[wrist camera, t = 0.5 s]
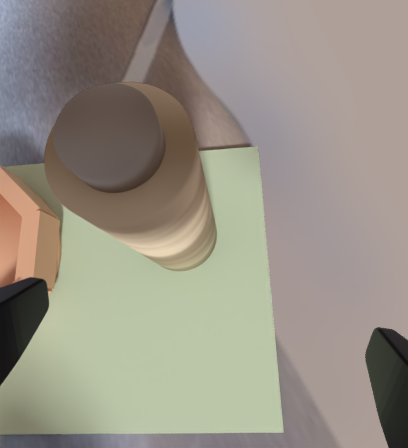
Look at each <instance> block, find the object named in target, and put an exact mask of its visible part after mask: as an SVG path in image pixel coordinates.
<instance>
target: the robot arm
mask: <svg viewBox="0 0 408 448" xmlns="http://www.w3.org/2000/svg"><path fill="white" fill-rule="evenodd" d="M48 309H49V296H48V288H47V282H46V280H44V279H42V278H35V277H29V278H26V279H23V280H20V281H17V282H15V283H12V284H9V285H6V286H3V287H0V386H1V385H2V383H3V382H4V380H5V379H6V378H7V376H8V375H9V374H10V372H11V371H12V369H13V368H14V367H15V365H16V364H17V362H18V361H19V359H20V358H21V356H22V354H23V353H24V351H25V350H26V348H27V346H28V344H29V343H30V341H31V339H32V337H33V336H34V334H35V332H36V331H37V329H38V327H39V325H40V324H41V322H42V320H43V318H44V317H45V315H46V313H47V311H48ZM365 355H366V356H365V358H366V364H367V369H368V373H369V377H370V382H371V386H372V390H373V395H374V399H375V403H376V408H377V412H378V416H379V420H380V423H381V426H382V429H383V432H384V435H385V438H386V441H387V444H388V447H389V448H408V340H407V339H405V338H404V337H403V336H401V335H400V334H398V333H397V332H396V331H394V330H392V329H386V328H380V327H378V328H376V329H374V331H373V333H372V336H371V338H370V341H369V345H368V347H367V350H366V354H365Z"/></svg>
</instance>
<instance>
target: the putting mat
mask: <svg viewBox="0 0 408 448" xmlns="http://www.w3.org/2000/svg"><path fill="white" fill-rule="evenodd" d="M199 154H200V158H201V163H202V167H203V172H204V176H205V180H206V185H207V189H208V193H209V198H210V202H211V206H212V211H213V215H214V220H215V224H216V228H217V240H216V245H215V248H214V250H213V252H212V254H211V255H210V256H209V258H208V259H207V260H206V261H205V262H204V263H202V264H201V265H200V266H198V267H196V268H194V269H191V270H188V271H172V270H168V269H166V268H163V267H162V266H160V265H158V264H157V263H155V262H153V261H152V260H150V259H148V258H147V257H145V256H144V255H142V254H140V253H139V252H137V251H135V250H134V249H132V248H130V247H129V246H127V245H125V244H124V243H122V242H120V241H119V240H117V239H116V238H114V237H112V236H111V235H109V234H107V233H106V232H104V231H102V230H101V229H99V228H97V227H96V226H94V225H92V224H91V223H89V222H88V221H86V220H84V219H83V218H81V217H79V216H78V215H76V214H74V213H73V212H71V211H70V210H68V209H67V208H66V207H65V206H64V205H62V204H61V203H60V201H59V200H58V199H57V198H56V197H55V195H54V193H53V192H52V190H51V188H50V186H49V184H48V181H47V178H46V174H45V167H44V163H40V164H27V165H14V166H2V167H3V168H5V169H7V170H8V171H10V172H11V173H13V174H15V175H16V176H18V177H20V178H21V179H22V180H23V182H24V183H25V184H26V185H27V186H28V187H29V188H30V189H31V190H32V191H33V192H34V193H36V194H37V195H38V196H40V197H41V198H42V199H43V200H44V201H45V202H46V204H47V205H48V206H49V207H50V209H51V210H52V211H53V212H54V213H55V214H56V215H57V216H58V217H59V219H58V220H60V227H59V230H60V234H61V242H62V256H61V263H60V268H59V272H58V275H57V279H56V281H55V286H54V289H52V291H53V292H52V293H51V294H50V295H49V309H48V311H47V313H46V315H45V317H44V318H43V320H42V322H41V324H40V325H39V327H38V329H37V331H36V332H35V334H34V336H33V337H32V339H31V341H30V343H29V344H28V346H27V348H26V350H25V351H24V353H23V354H22V356H21V358H20V359H19V361H18V362H17V364H16V365H15V367H14V368H13V369H12V371H11V372H10V374H9V375H8V376H7V378H6V379H5V380H4V382H3V383H2V385H1V386H0V435H4V434H145V433H284V432H283V421H282V410H281V399H280V387H279V376H278V365H277V354H276V342H275V331H274V320H273V309H272V297H271V288H270V287H271V286H270V275H269V264H268V254H267V241H266V230H265V219H264V208H263V196H262V185H261V174H260V163H259V151H258V147H244V148H232V149H219V150H206V151H199Z"/></svg>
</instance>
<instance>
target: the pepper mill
mask: <svg viewBox="0 0 408 448" xmlns="http://www.w3.org/2000/svg"><path fill="white" fill-rule="evenodd" d="M44 167H45V174H46V178H47V181H48V184H49V186H50V188H51V190H52V192H53V193H54V195H55V197H56V198H57V199H58V200H59V201H60V203H61V204H62V205H64V206H65V207H66V208H67V209H68V210H70V211H71V212H73V213H74V214H76V215H78V216H79V217H81V218H83V219H84V220H86V221H88V222H89V223H91V224H92V225H94V226H96V227H97V228H99V229H101V230H102V231H104V232H106V233H107V234H109V235H111V236H112V237H114V238H116V239H117V240H119V241H120V242H122V243H124V244H125V245H127V246H129V247H130V248H132V249H134V250H135V251H137V252H139V253H140V254H142V255H144V256H145V257H147V258H148V259H150V260H152V261H153V262H155V263H157V264H158V265H160V266H162V267H163V268H166V269H168V270H172V271H188V270H191V269H194V268H196V267H198V266H200V265H201V264H202V263H204V262H205V261H206V260H207V259H208V258H209V256H210V255H211V254H212V252H213V250H214V248H215V245H216V240H217V228H216V224H215V220H214V215H213V211H212V206H211V202H210V198H209V193H208V189H207V185H206V180H205V176H204V172H203V167H202V163H201V158H200V154H199V150H198V145H197V141H196V137H195V132H194V128H193V125H192V122H191V120H190V117H189V115H188V114H187V112H186V110H185V109H184V108H183V106H182V105H181V104H180V103H179V102H178V101H177V100H176V99H175V98H174V97H173V96H171V95H170V94H168V93H167V92H165V91H164V90H161V89H159V88H157V87H155V86H152V85H149V84H144V83H137V82H120V83H106V84H100V85H96V86H93V87H90V88H88V89H86V90H84V91H82V92H80V93H79V94H77V95H76V96H75V97H74V98H72V99H71V100H70V101H69V102H68V103H67V104H66V105H65V107H64V108H63V109H62V111H61V113H60V114H59V116H58V118H57V121H56V123H55V125H54V126H53V128H52V130H51V132H50V135H49V137H48V140H47V143H46V148H45V154H44Z"/></svg>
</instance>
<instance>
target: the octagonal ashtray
mask: <svg viewBox="0 0 408 448" xmlns="http://www.w3.org/2000/svg"><path fill="white" fill-rule="evenodd" d="M58 219H59V217H58V216H57V215H56V214H55V213H54V212H53V211H52V210H51V209H50V207H49V206H48V205H47V204H46V202H45V201H44V200H43V199H42V198H41V197H40V196H38V195H37V194H36V193H34V192H33V191H32V190H31V189H30V188H29V187H28V186H27V185H26V184H25V183H24V182H23V180H22V179H21V178H20V177H18V176H16V175H15V174H13V173H11V172H10V171H8V170H7V169H5V168H3V167H2V166H0V287H3V286H6V285H9V284H12V283H15V282H17V281H20V280H23V279H26V278H29V277H35V278H42V279H44V280H46V282H47V288H48V296H49V295H50V294H51V293H52V292H53V291H52V289H54V286H55V281H56V279H57V275H58V272H59V268H60V263H61V256H62V242H61V234H60V230H59V227H60V220H58Z"/></svg>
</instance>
